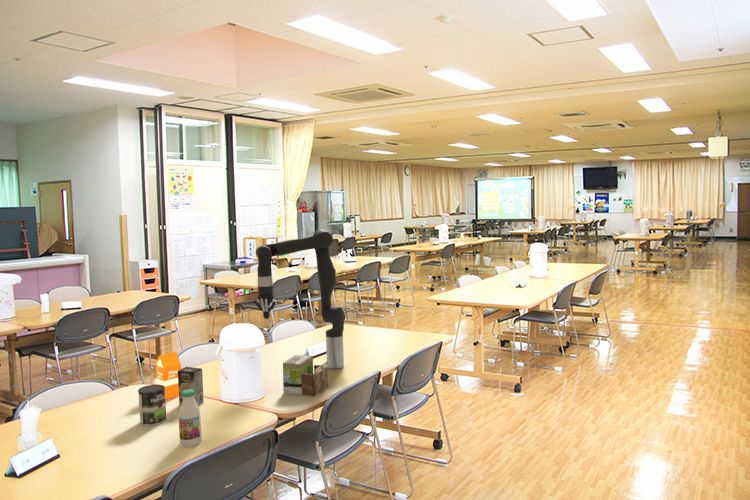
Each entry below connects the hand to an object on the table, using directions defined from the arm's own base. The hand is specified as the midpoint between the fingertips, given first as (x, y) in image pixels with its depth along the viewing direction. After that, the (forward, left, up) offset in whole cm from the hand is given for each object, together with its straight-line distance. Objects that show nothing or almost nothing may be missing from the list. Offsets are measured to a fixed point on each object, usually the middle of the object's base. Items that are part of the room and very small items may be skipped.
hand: (266, 318), depth 277 cm
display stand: (+12, +31, -31) cm, 45 cm away
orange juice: (+34, -34, -31) cm, 57 cm away
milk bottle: (+77, +10, -31) cm, 84 cm away
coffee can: (+63, -19, -31) cm, 73 cm away
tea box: (+12, +23, -31) cm, 40 cm away
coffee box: (+42, -16, -31) cm, 55 cm away
